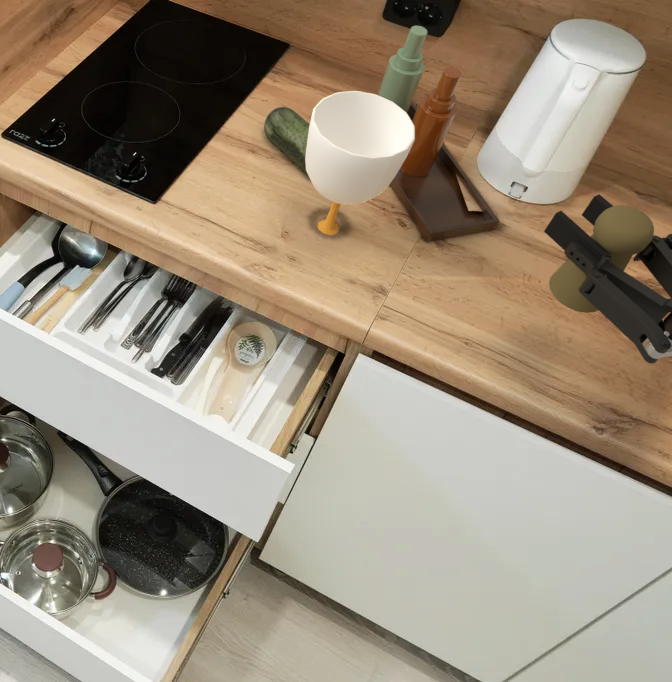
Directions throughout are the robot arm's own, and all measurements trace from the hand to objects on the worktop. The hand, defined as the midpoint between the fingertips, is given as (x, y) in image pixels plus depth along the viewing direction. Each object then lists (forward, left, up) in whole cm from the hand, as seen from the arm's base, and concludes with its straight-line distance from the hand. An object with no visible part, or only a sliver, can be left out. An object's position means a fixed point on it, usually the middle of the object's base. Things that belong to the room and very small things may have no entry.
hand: (571, 213), depth 83 cm
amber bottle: (+6, -26, -17) cm, 31 cm away
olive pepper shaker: (-2, +5, -7) cm, 9 cm away
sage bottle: (+8, -34, -17) cm, 39 cm away
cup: (+20, -13, -17) cm, 29 cm away
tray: (+6, -26, -17) cm, 31 cm away
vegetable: (+22, -27, -17) cm, 39 cm away
